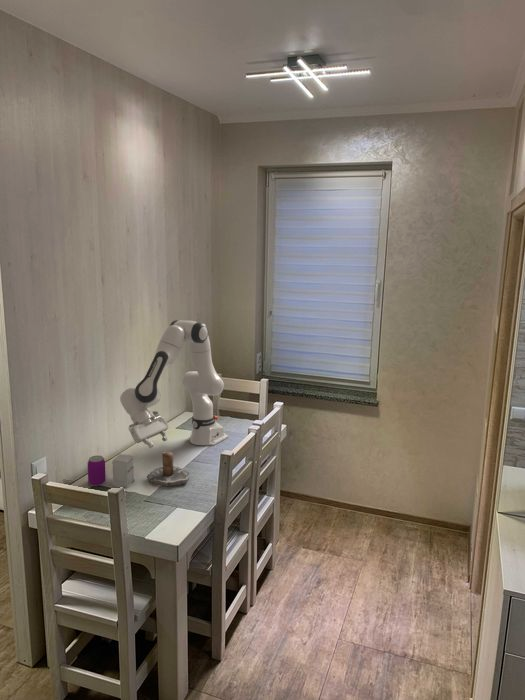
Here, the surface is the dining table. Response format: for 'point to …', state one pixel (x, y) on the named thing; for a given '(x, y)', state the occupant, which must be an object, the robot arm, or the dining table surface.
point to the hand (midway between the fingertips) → (159, 443)
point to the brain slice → (168, 477)
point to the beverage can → (96, 471)
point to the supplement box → (123, 470)
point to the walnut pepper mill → (167, 463)
